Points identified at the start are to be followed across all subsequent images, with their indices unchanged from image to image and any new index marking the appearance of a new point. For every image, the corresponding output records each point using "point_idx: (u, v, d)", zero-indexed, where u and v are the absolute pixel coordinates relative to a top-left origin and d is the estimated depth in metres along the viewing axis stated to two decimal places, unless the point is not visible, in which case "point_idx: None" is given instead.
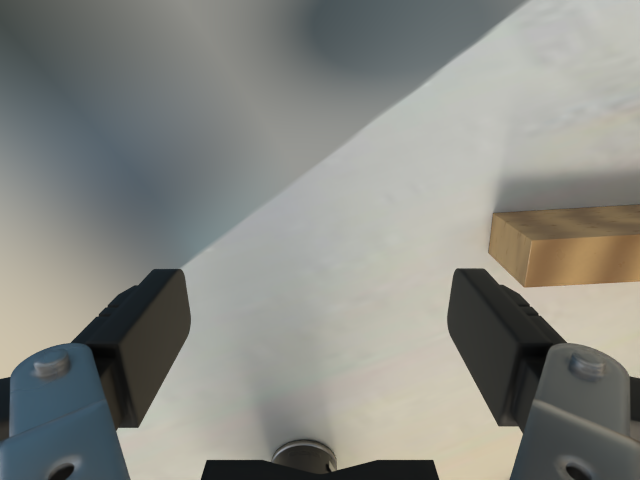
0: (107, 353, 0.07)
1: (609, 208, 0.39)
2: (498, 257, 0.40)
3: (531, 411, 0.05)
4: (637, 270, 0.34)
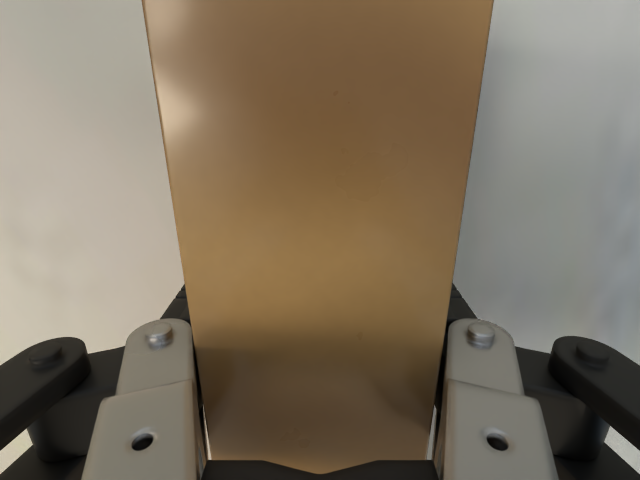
0: None
1: None
2: None
3: (449, 392, 0.05)
4: None
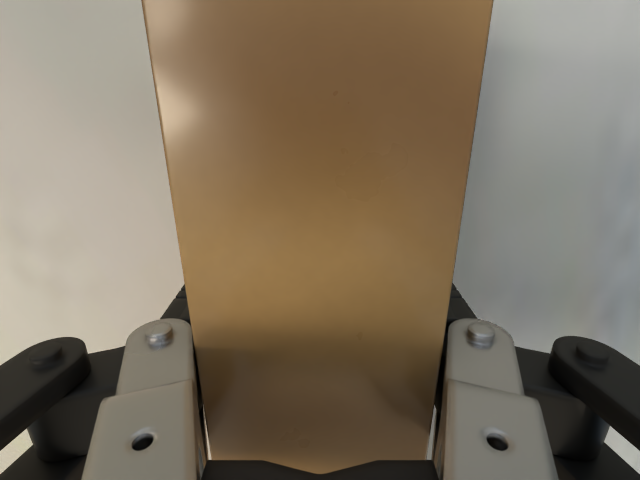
0: None
1: None
2: None
3: (449, 392, 0.05)
4: None
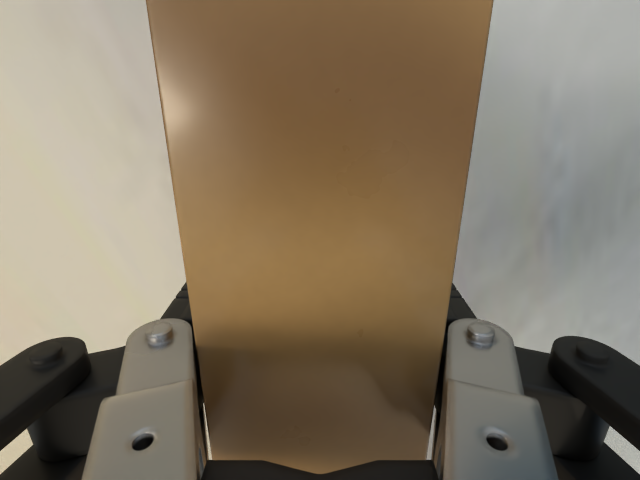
0: None
1: None
2: None
3: (448, 392, 0.05)
4: None
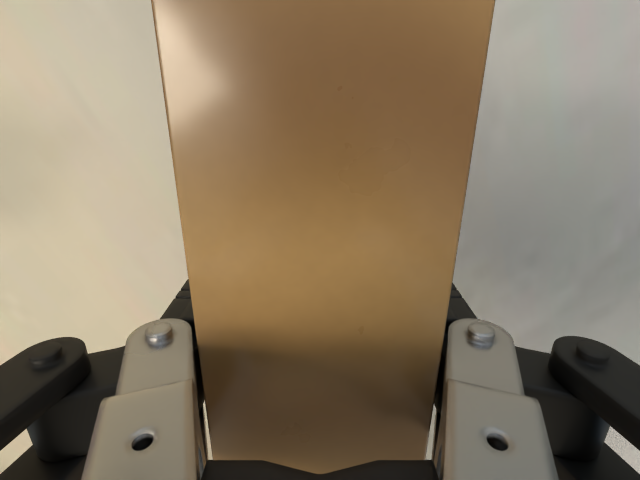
0: None
1: None
2: None
3: (448, 392, 0.05)
4: None
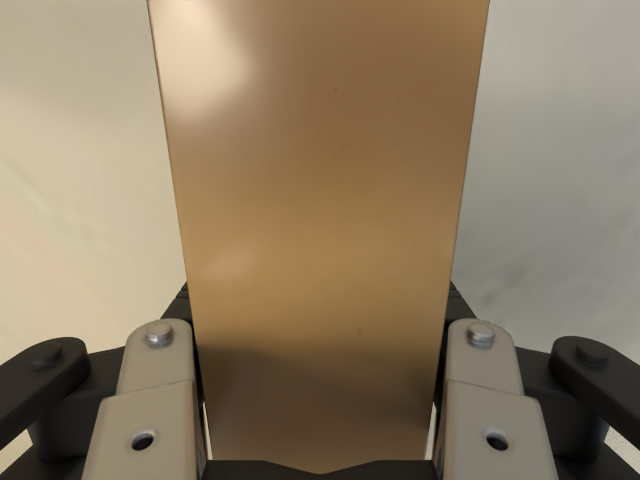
0: None
1: None
2: None
3: (449, 392, 0.05)
4: None
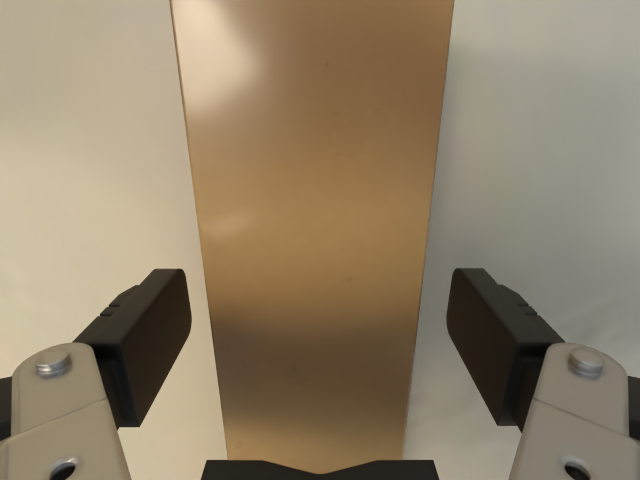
0: (109, 352, 0.07)
1: None
2: None
3: (530, 411, 0.05)
4: (268, 424, 0.10)
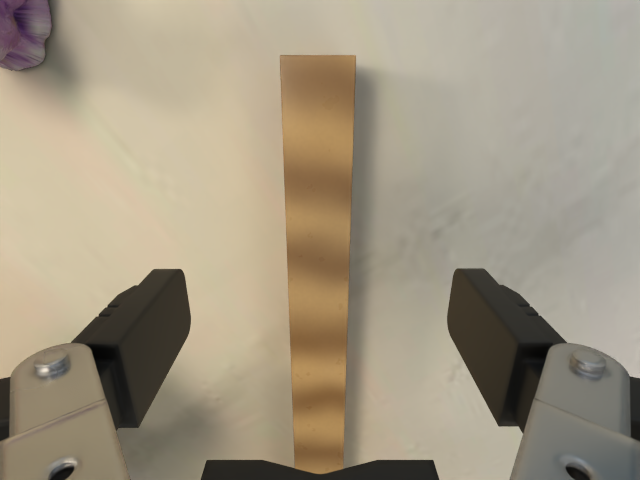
0: (107, 353, 0.07)
1: None
2: None
3: (531, 411, 0.05)
4: (301, 209, 0.27)
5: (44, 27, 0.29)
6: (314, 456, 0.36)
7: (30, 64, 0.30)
